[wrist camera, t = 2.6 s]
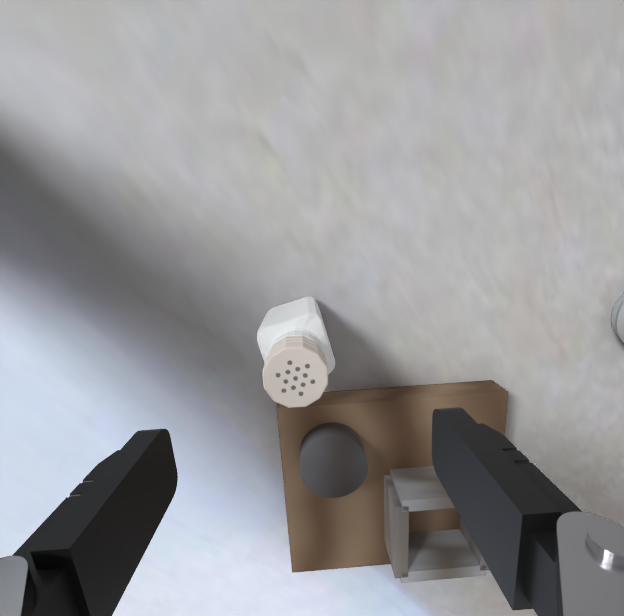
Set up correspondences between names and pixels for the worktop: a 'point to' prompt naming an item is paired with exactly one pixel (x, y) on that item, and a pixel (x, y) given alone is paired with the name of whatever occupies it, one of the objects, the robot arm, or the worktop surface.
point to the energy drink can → (618, 318)
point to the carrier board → (379, 480)
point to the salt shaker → (295, 353)
